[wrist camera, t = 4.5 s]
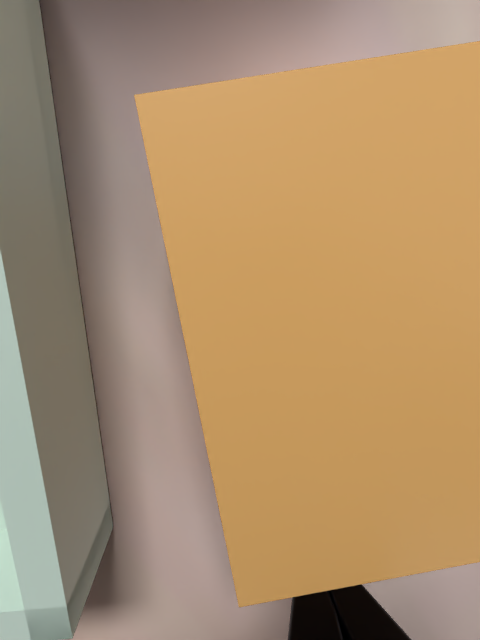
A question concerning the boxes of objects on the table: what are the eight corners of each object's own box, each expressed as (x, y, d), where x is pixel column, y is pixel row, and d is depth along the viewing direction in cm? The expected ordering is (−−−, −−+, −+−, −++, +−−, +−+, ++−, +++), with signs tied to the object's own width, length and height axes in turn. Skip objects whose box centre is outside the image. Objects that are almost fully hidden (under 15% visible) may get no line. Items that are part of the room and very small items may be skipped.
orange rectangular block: (389, 436, 9) (496, 558, 6) (230, 464, 9) (239, 606, 5) (368, 131, 7) (498, 37, 4) (173, 162, 7) (133, 95, 4)
